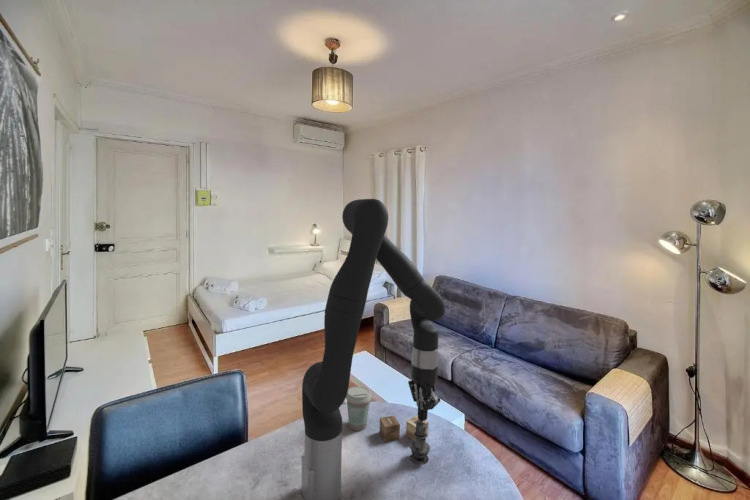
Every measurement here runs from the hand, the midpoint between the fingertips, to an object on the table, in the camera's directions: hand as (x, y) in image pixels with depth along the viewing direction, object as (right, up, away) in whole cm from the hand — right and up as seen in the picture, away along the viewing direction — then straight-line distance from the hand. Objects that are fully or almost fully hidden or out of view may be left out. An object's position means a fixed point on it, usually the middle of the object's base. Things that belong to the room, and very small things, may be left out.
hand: (422, 419), depth 99 cm
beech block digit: (0, -11, +11) cm, 16 cm away
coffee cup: (-20, -10, +16) cm, 27 cm away
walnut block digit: (-9, -11, +11) cm, 18 cm away
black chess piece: (-1, -12, +1) cm, 12 cm away
